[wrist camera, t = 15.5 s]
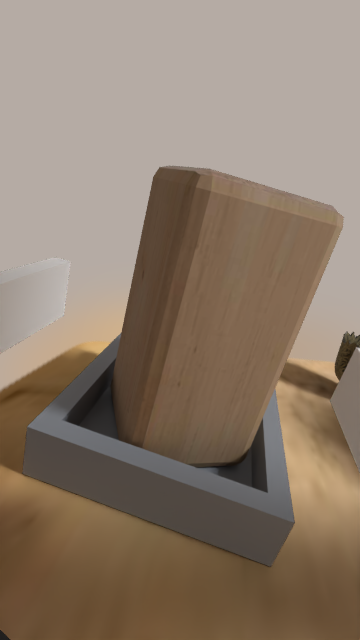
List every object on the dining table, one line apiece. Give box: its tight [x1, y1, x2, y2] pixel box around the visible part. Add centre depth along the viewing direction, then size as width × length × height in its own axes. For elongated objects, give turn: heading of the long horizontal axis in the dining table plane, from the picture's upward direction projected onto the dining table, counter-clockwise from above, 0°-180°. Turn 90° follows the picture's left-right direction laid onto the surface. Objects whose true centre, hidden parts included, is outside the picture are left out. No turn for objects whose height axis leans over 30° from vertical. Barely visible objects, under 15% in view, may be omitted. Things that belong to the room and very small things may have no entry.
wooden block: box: [110, 166, 343, 467], centre depth 25 cm, size 10×10×20 cm
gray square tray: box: [22, 334, 295, 567], centre depth 29 cm, size 17×17×4 cm
